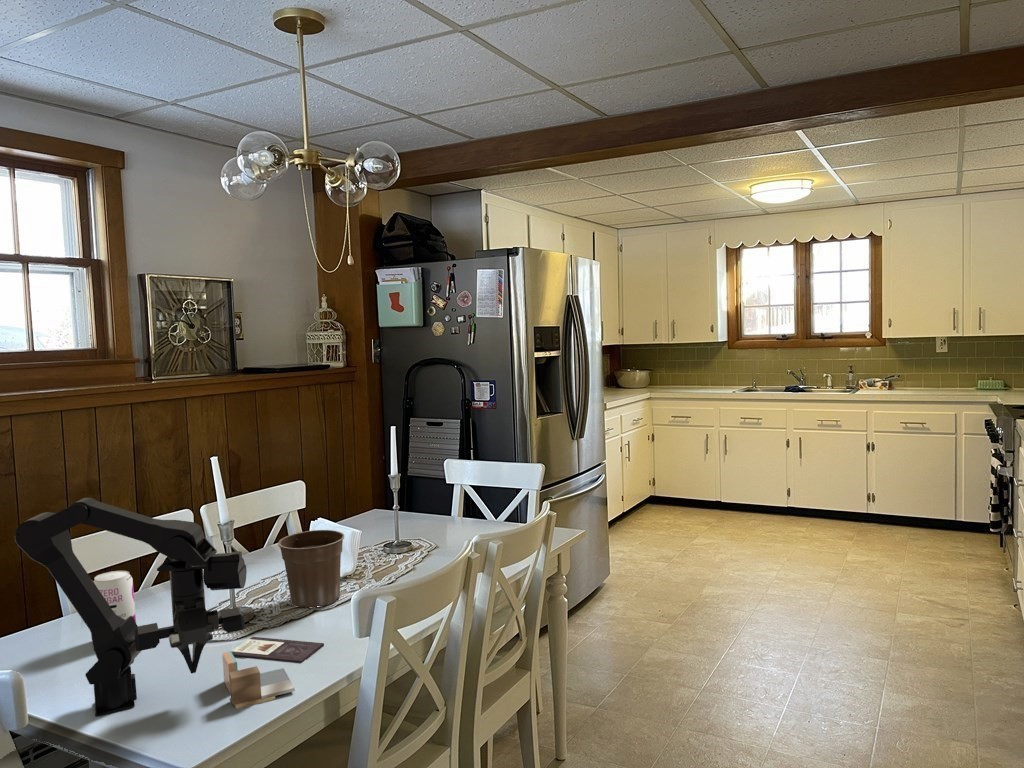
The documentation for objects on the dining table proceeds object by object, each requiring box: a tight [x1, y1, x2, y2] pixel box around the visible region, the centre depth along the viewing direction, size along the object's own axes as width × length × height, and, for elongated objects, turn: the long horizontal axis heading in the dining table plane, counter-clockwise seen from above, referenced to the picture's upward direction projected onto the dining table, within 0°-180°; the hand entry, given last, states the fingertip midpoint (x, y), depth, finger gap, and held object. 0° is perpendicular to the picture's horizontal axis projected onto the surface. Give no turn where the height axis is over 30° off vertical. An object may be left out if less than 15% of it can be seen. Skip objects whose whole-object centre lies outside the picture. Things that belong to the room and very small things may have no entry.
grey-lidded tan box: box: [229, 665, 296, 706], centre depth 145 cm, size 11×4×5 cm, turn 118°
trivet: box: [260, 667, 291, 687], centre depth 151 cm, size 9×7×1 cm
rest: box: [234, 696, 276, 710], centre depth 145 cm, size 7×5×1 cm
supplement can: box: [93, 570, 137, 623], centre depth 175 cm, size 8×8×15 cm
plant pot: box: [277, 529, 345, 608], centre depth 196 cm, size 16×16×16 cm
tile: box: [221, 650, 239, 693], centre depth 150 cm, size 2×6×6 cm, turn 31°
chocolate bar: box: [230, 636, 325, 664], centre depth 166 cm, size 9×1×18 cm
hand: (193, 672), depth 145 cm, fingers closed
